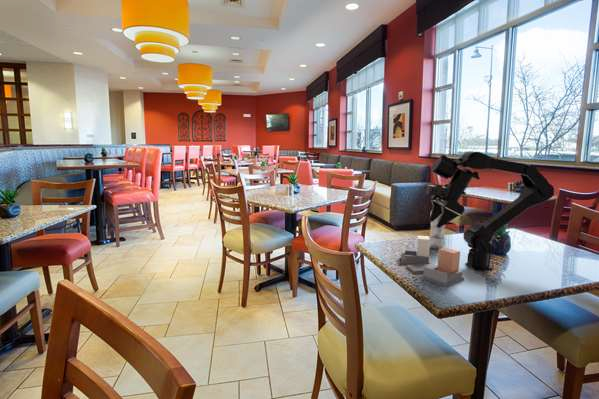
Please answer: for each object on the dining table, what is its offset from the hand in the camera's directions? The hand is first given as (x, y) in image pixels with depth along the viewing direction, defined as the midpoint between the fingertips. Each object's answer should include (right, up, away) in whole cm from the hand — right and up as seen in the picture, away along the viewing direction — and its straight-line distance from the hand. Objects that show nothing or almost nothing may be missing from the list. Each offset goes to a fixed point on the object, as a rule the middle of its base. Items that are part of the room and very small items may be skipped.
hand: (434, 224), depth 122 cm
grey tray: (-3, -16, -2) cm, 16 cm away
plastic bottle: (+10, -12, +24) cm, 29 cm away
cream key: (-2, -13, +6) cm, 14 cm away
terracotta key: (0, -15, -10) cm, 19 cm away
